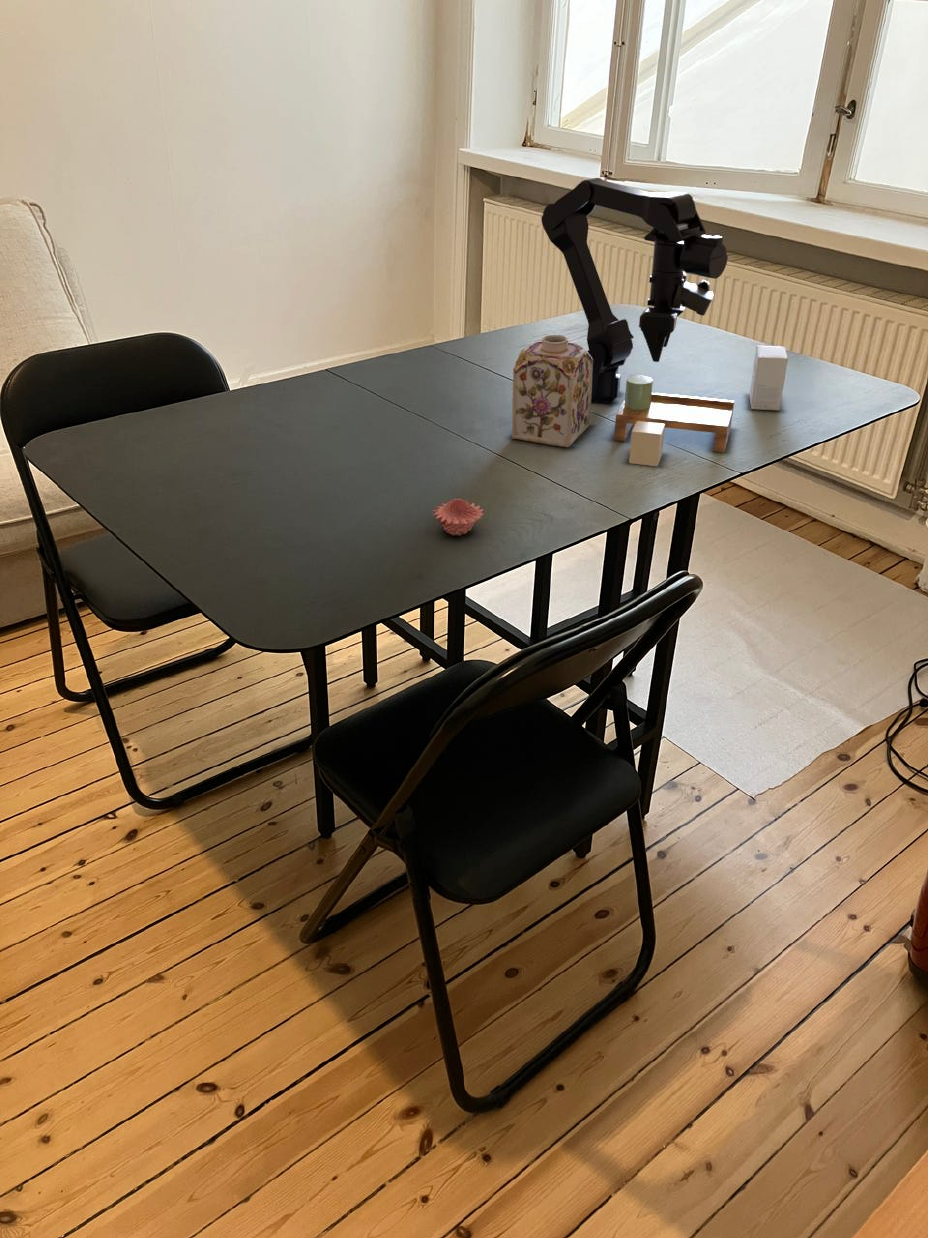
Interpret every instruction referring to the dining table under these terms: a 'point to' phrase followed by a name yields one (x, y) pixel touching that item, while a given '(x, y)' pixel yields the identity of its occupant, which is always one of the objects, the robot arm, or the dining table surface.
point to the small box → (768, 377)
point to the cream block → (646, 443)
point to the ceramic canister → (638, 392)
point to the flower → (458, 516)
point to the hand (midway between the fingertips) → (659, 353)
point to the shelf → (681, 416)
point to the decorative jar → (552, 392)
